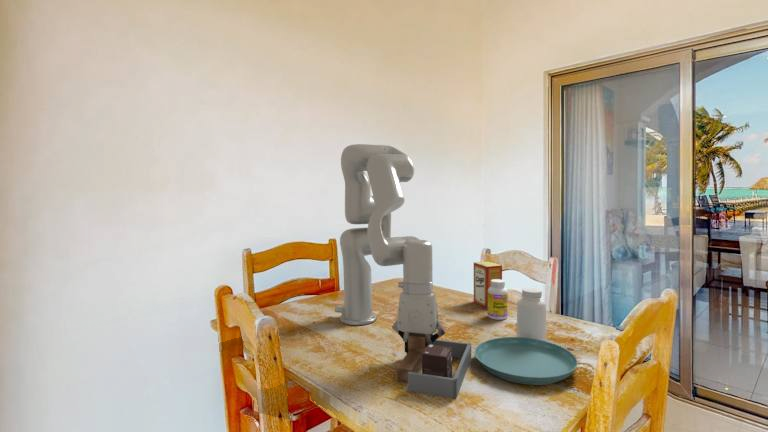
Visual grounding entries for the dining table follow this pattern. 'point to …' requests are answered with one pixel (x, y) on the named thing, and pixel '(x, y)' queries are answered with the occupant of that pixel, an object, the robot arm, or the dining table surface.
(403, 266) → the robot arm
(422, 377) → the open-sided frame
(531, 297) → the pill bottle
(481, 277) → the baking soda box
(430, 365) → the box
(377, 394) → the dining table surface
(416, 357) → the brown l-shaped block
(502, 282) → the supplement bottle
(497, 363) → the teal plate
